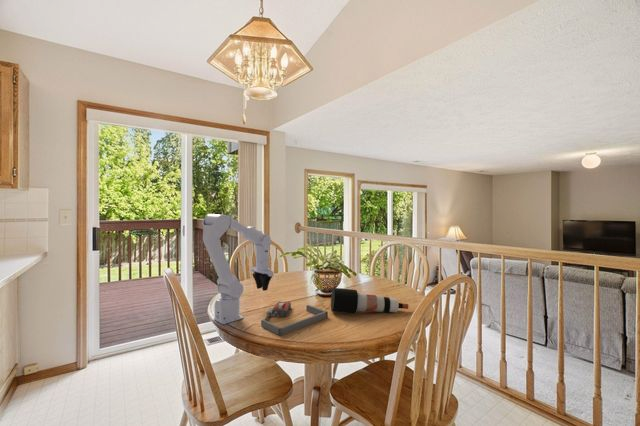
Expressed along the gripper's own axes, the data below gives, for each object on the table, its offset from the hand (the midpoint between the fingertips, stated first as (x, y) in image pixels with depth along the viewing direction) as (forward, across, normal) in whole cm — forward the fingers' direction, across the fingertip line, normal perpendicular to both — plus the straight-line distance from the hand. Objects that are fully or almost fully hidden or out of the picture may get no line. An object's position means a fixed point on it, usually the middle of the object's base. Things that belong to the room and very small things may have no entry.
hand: (262, 289), depth 136 cm
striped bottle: (+9, -38, -31) cm, 50 cm away
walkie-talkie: (+9, -12, 0) cm, 15 cm away
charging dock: (+8, -23, 0) cm, 24 cm away
